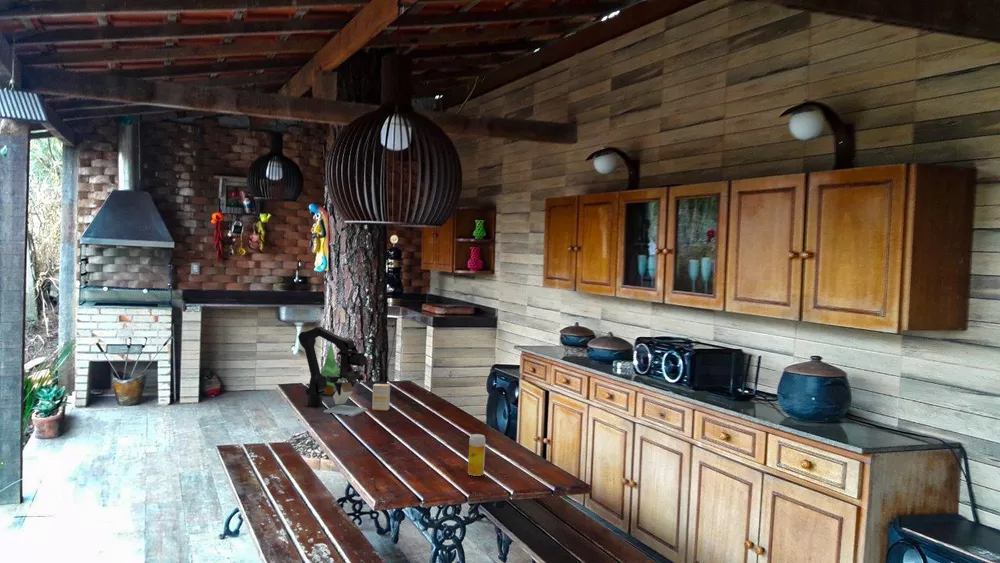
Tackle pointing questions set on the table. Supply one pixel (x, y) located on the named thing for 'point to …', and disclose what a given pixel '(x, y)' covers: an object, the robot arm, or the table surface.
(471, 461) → the beer glass
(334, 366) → the decorative tree
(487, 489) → the table surface
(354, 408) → the slate mat
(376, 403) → the supplement box
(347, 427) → the table surface
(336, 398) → the tan block
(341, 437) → the table surface
